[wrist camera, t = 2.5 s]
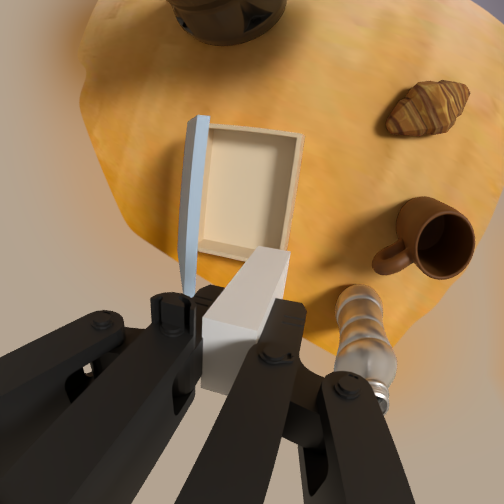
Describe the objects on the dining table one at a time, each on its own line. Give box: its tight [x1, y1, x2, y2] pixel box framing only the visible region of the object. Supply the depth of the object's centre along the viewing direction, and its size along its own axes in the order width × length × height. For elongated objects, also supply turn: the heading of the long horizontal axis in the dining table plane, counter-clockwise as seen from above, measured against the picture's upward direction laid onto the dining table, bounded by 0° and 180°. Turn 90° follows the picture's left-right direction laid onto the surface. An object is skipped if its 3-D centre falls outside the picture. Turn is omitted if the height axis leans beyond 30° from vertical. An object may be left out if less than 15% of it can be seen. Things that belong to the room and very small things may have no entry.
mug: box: [372, 197, 475, 280], centre depth 30 cm, size 12×8×9 cm, turn 118°
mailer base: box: [197, 124, 305, 262], centre depth 36 cm, size 16×12×4 cm
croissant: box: [385, 80, 470, 136], centre depth 27 cm, size 14×7×5 cm, turn 123°
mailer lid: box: [178, 115, 210, 298], centre depth 29 cm, size 16×12×1 cm
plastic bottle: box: [334, 284, 397, 415], centre depth 30 cm, size 6×7×20 cm
